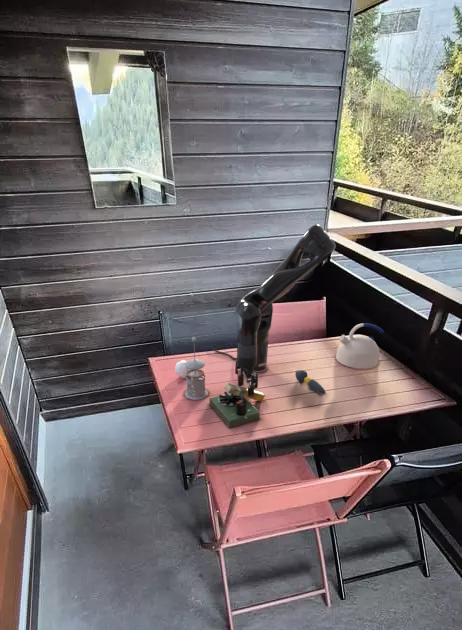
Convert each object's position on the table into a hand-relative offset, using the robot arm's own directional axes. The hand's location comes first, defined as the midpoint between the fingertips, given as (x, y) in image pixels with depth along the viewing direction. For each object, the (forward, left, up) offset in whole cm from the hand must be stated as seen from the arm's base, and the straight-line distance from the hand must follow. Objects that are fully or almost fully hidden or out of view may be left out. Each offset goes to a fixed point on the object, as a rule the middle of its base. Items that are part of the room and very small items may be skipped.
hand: (245, 390), depth 175 cm
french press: (-16, -15, -6) cm, 23 cm away
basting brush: (0, -1, -2) cm, 2 cm away
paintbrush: (0, +32, -6) cm, 33 cm away
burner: (0, -7, -3) cm, 8 cm away
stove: (+4, -7, -6) cm, 10 cm away
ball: (-31, -14, -6) cm, 35 cm away
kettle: (-11, +67, -6) cm, 68 cm away
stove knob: (+10, -7, -3) cm, 12 cm away
